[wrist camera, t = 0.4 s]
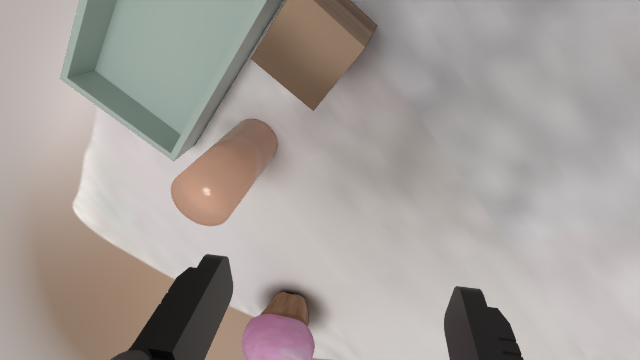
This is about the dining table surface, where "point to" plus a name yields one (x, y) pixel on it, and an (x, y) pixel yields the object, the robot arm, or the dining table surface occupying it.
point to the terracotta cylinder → (224, 173)
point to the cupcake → (280, 331)
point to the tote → (162, 61)
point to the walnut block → (313, 45)
